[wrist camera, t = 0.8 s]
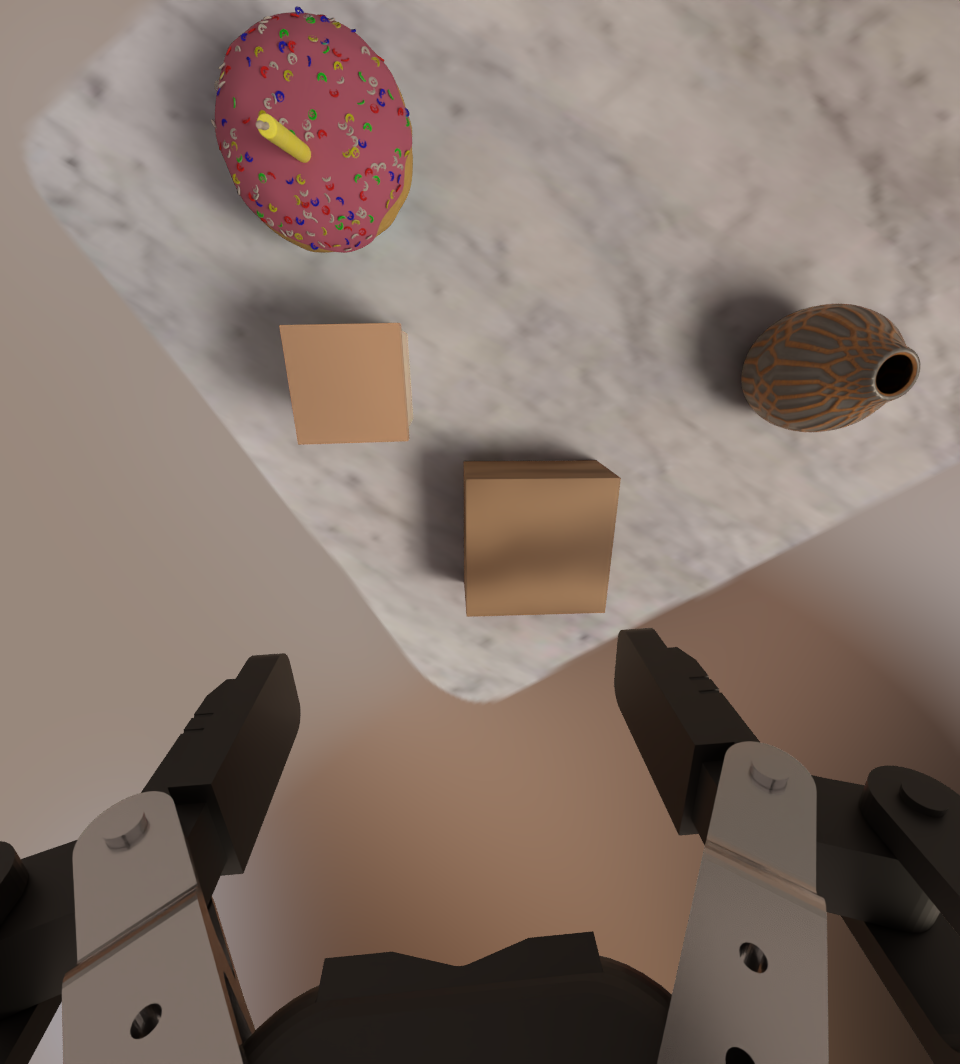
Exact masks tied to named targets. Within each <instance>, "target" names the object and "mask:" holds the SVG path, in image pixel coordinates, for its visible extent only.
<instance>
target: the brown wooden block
mask: <svg viewBox="0 0 960 1064" xmlns="http://www.w3.org/2000/svg"><path fill="white" fill-rule="evenodd" d="M620 479H621V478H620V477H619V476H617V475H616V474H614V473H613V472H612V471H610V470H609V469H608V468H606V467H605V466H603V465H602V464H601V463H599V462H598V461H597V460H577V461H464V587H465V600H466V614H467V617H469V616H504V615H540V614H575V613H605V607H606V598H607V590H608V581H609V573H610V564H611V556H612V547H613V539H614V530H615V522H616V513H617V505H618V496H619V488H620Z"/></svg>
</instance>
